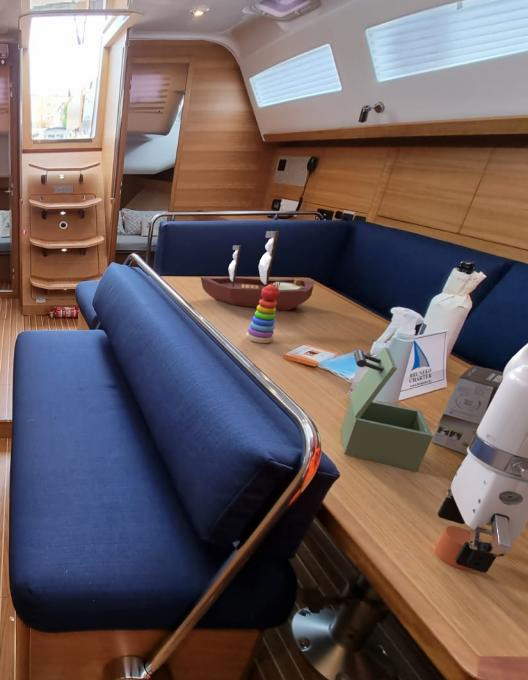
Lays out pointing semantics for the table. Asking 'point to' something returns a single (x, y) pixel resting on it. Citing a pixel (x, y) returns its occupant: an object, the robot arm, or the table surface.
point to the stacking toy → (264, 316)
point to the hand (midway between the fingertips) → (459, 542)
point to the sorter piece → (452, 544)
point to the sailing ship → (258, 283)
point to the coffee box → (467, 408)
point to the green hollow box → (387, 435)
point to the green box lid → (371, 379)
